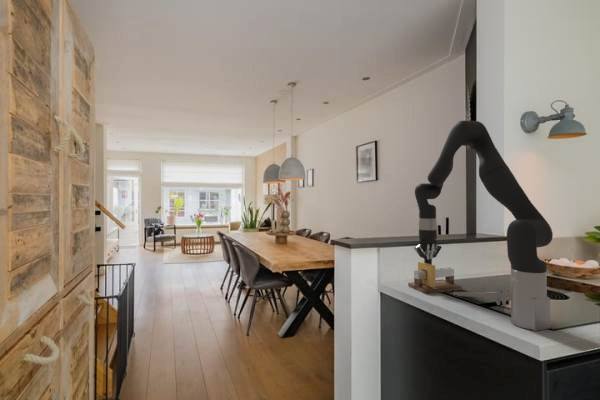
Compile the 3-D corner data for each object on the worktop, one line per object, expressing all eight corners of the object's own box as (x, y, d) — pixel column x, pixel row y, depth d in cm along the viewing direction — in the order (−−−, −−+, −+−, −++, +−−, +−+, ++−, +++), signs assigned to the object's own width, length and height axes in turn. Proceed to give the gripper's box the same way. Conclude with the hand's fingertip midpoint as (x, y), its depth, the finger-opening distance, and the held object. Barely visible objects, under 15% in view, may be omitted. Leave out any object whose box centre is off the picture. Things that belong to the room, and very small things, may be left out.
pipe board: (461, 289, 142) (461, 278, 142) (425, 293, 137) (425, 282, 137) (442, 282, 154) (442, 272, 154) (408, 286, 149) (408, 275, 149)
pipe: (454, 276, 146) (454, 268, 146) (418, 279, 142) (418, 272, 141) (449, 274, 150) (448, 267, 149) (414, 278, 145) (413, 270, 145)
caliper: (506, 307, 121) (506, 290, 121) (504, 308, 120) (504, 290, 120) (451, 294, 137) (451, 279, 137) (449, 295, 136) (449, 279, 136)
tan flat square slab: (435, 287, 140) (435, 265, 140) (431, 287, 140) (431, 266, 140) (422, 281, 149) (421, 261, 149) (418, 282, 149) (418, 261, 148)
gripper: (419, 230, 142) (420, 270, 143) (446, 228, 146) (446, 268, 146) (409, 228, 150) (410, 266, 150) (434, 227, 153) (435, 264, 153)
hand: (428, 267), depth 148 cm, fingers closed
